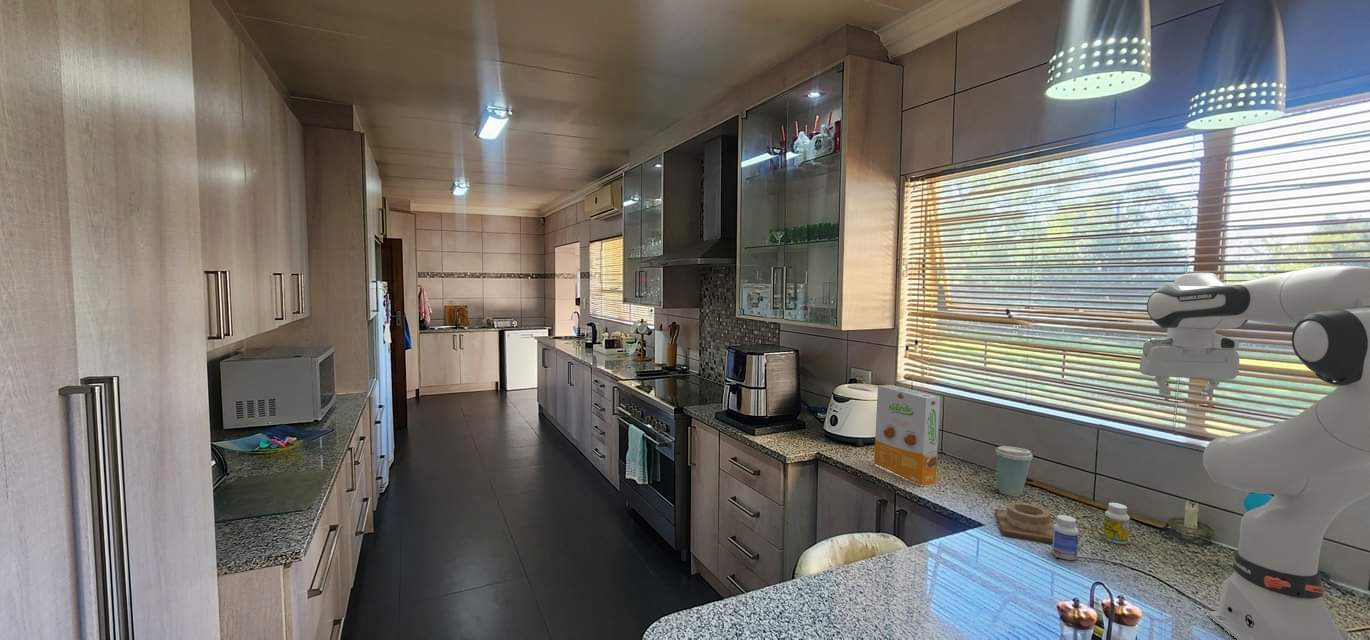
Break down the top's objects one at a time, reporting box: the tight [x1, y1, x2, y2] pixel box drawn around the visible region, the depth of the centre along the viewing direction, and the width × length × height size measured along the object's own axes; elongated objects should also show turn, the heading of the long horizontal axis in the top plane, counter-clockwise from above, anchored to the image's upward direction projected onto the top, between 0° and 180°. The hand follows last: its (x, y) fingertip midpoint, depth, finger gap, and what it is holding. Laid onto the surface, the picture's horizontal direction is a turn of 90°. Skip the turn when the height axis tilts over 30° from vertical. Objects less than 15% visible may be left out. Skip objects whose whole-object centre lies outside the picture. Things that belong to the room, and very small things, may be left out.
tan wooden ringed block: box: [994, 502, 1055, 545], centre depth 160 cm, size 16×14×6 cm
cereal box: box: [873, 384, 941, 485], centre depth 201 cm, size 22×6×30 cm, turn 24°
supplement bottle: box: [1102, 502, 1131, 545], centre depth 154 cm, size 5×5×10 cm
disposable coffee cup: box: [994, 445, 1034, 498], centre depth 187 cm, size 11×11×15 cm
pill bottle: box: [1051, 514, 1080, 561], centre depth 145 cm, size 5×5×10 cm
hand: (1185, 395), depth 141 cm, fingers open, 8 cm apart
